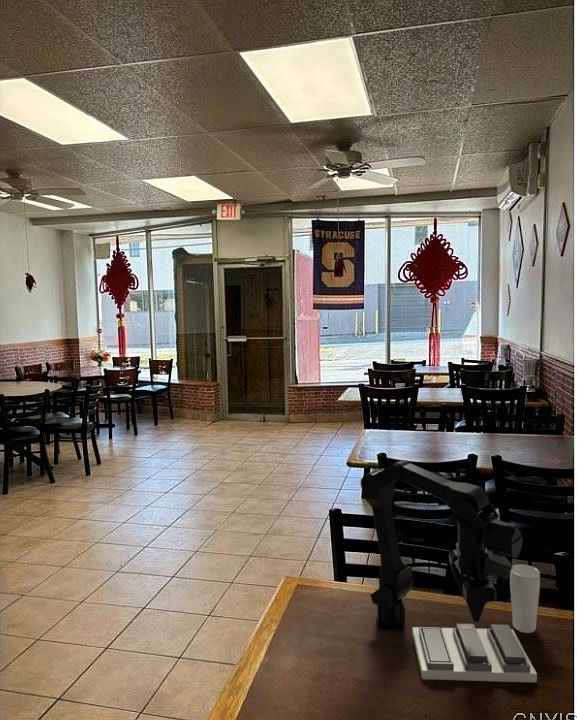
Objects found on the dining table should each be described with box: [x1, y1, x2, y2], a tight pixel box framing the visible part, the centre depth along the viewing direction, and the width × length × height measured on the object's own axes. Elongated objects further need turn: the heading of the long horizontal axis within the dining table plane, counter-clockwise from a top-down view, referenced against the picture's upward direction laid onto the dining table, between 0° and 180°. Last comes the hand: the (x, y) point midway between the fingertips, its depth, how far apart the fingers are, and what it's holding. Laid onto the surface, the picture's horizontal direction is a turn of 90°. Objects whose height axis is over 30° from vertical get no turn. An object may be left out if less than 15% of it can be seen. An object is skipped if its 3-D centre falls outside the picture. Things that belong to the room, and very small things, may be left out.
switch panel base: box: [411, 626, 538, 683], centre depth 125 cm, size 24×16×4 cm, turn 85°
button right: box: [490, 624, 526, 664], centre depth 123 cm, size 4×12×2 cm, turn 175°
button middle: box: [455, 623, 487, 663], centre depth 124 cm, size 4×12×2 cm, turn 175°
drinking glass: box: [509, 563, 541, 634], centre depth 135 cm, size 7×7×15 cm
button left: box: [422, 628, 450, 663], centre depth 125 cm, size 4×12×2 cm, turn 175°
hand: (471, 609), depth 123 cm, fingers open, 9 cm apart
